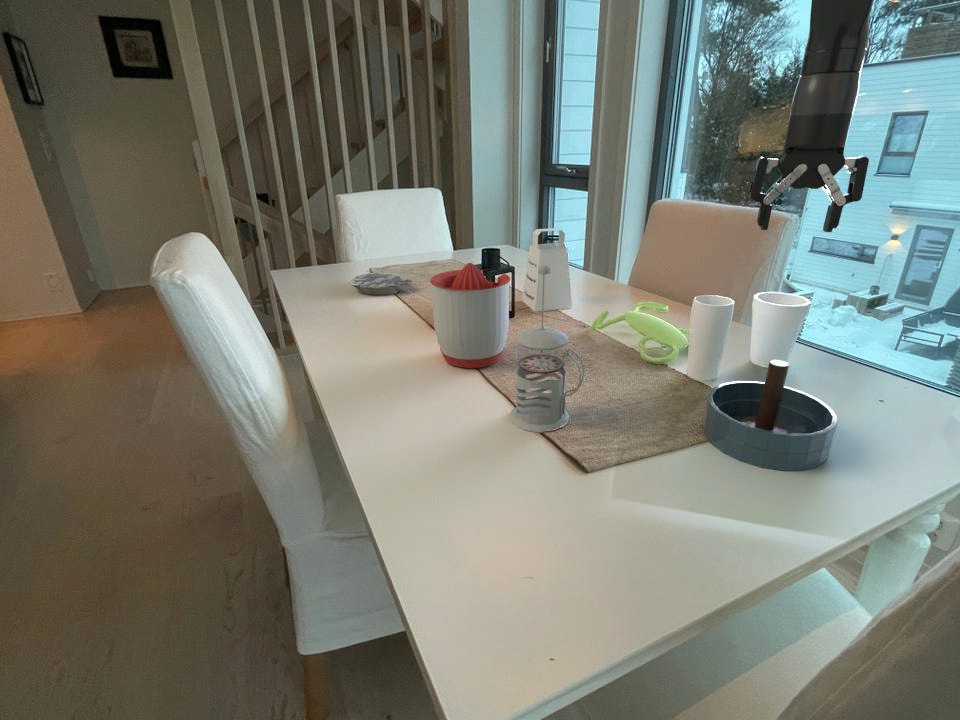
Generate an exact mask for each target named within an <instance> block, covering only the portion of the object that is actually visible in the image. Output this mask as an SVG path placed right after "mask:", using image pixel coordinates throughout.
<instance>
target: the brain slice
mask: <svg viewBox="0 0 960 720" xmlns="http://www.w3.org/2000/svg"><path fill="white" fill-rule="evenodd" d="M412 281H413V280H412V279H409V278H406V277H405V276H404V275H402V274H398V273H386V272H378V271H375V272H369V273H365V274H360V275H357V276H355V277H353V278H352V279H351V280H350V282H349V284H350V286H351V287H353V288H356V290H357V291H359V292H360V293H361V294H365V295H368V296H369V295H370V296H390V295H395V294H398V293H397V292H400V293H403V292H402V291H404V292H405V291H407V290H408V289H409V288H410V287H411V286H412Z"/></svg>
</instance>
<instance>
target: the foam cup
mask: <svg viewBox="0 0 960 720" xmlns="http://www.w3.org/2000/svg"><path fill="white" fill-rule="evenodd" d="M811 305H812V302H811V300H810V299H809V298H807V297H804V296H803V295H797V294H794V293H788V292H781V291H762V292H758V293H756V294H753V299H752V304H751V310H752V314H751V333H750V334H751V335H750V336H751V337H750V352H749V356H750V359H749V361H750V362H751V363H752V364H754V365H756V366H758V367H762V368H765V369H766V368H767V369H768V365H769V361H771V360H781V361H784V362H787V363H789V359H790V357H791V355H792V352H793V349H794V347H795V345H796V342H797V339H798V337H799V335H800V333H801V330H802V327H803V325H804V322H805V320H806V318H807V316H809V312H810V308H811Z"/></svg>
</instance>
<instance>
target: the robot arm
mask: <svg viewBox="0 0 960 720" xmlns="http://www.w3.org/2000/svg"><path fill="white" fill-rule="evenodd" d="M873 3H874V0H811V5H810V15H809V30H808V31H809V32H808V38H807V42H806V45H805V49H804V53H803V58H802V63H801V68H800V73H799V78H798V82H797V85H796V88H795V90H794V95H793V98H792V103H791V104H790V108H789V118H788V123H787V129H786V133H785V138H784V143H783V148H782V152H781V154H780V156H779V157H778V158H767V157H765V156H760V157H758V158H757V159H756V161H755V165H754V171H753V174H752V178H751V182H750V186H749V190H748V195H747V196H748V198H749V199H751V200H752V201H754V202H758V203H759V208H758V213H757V218H756V223H757V226H758V227H759V228H760V229H759V230H761V231H768V229H769V225H770V220H771V214H772V209H773V204H772V203H773V202H774V201H775V200H776V199H777V198H778V197H780V195H782V194H783V193H784V192H785V191H787V189H788V188H791V189H794V190H801V189H806V188H808V189H811V190H819V189H820V188H822V190H823V191H824V192H825V194H826V195H827V197H828V199H829V200H830V202H831V203H830V204H828V206H827V210H826V215H825V218H824V222H823V226H822V231H823V232H824V233H832V232H833V230H834V229H837V228H838V226H839V225H840V220H841V216H842V212H843V208H844V207H845V206H846V205H848V204H851V203H854V202H855V203H857V202H859V201H861V200H862V198H863V194H864V187H865V184H866V183H865V182H866V177H867V173H868V168H869V162H870V158H869V157H867V156H863V155H860V156H859V155H858V156H856V157H847V158H846V157H845V154H844V153H845V149H846V145H847V141H848V136H849V133H850V129H851V123H852V121H853V115H854V112H855V109H856V104H857V99H858V95H859V90H860V79H861V72H862V70H863V69H862V68H863V65H864V61H865V55H866V52H867V50H868V45H869V37H870V23H869V21H870V15H871V12H872V8H873ZM775 167H776V169H777V170H778V172H779V174H780V177H778V178H777V180H776V181H775V182H774V183H773V184H772V185H771V186H770V188H768V190H766V191H765V192H764V193H763V192H762V189H763V185H764V181H765V177H766V174H770V173H771V172H772V170H773V168H775ZM844 167H845V168H846V172H847V173H849V174H850V176H849V179H848V180H849V181H848V184H847V185H848V187H847V190H846V191H847V192H846V193H843V192H842V190H841V187H840V186H839V184H838V182H837V181H836V178H835V176H836V175H837V174H838V173H839V172H840V171H841V170H842V169H843V168H844Z"/></svg>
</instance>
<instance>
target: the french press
mask: <svg viewBox="0 0 960 720" xmlns="http://www.w3.org/2000/svg"><path fill="white" fill-rule="evenodd" d="M537 267H538V266H537ZM550 271H551V270H550V268H549V267H548V266H547V265H541V266H540V267H538V274H543V295H542V311H541V325H540V326H532V327H529V328H527V329H525V330H522V331H521V332H519V333H517V334H516V336H515V337H514V339H515V341H516V343H517V345H518V346H520V347H521V348H524V349H528V350H531V351H540V353H532V354H527V355H524V356H522V357H521V358H519V359H518V362H517V363H518V365H519V366H517V368H516V381H515V382H516V385H515V387H516V392H515V403H516V404H515V407H514V408H513V409H511V411H510V414H509V419H510V422H511V423H512V424H513V425H514V426H516V428H519V429H522V430H525V431H527V432H532V433H539V434H540V433H544V432H543V431H546V430H548V429H549V430H551V429H555V428H558V427H560V426H562V425H563V424H565V423H567V422H568V418H569V417H570V414H569V413H568V411H566V398H567V397H569V396H573V394H575V393H576V392H577V391H578V390H579V388H580V387H581V385H582V384H583V381H584V379H585V377H584V376H585V370H586V369H585V365H584V362H583V360H582V358H581V356H580V355H578V354H577V352H575V351H574V350H573V349H571V348H567V349H566V350H565V352H564V353H562V358H560V357H558V356H557V355H553V354H546V353H543V352H545V351H546V352H547V351H554V350H559V349H561V348H563V347H565V346H567V344H568V341H569V339H570V338H569V337H568V336H567V334H566V333H564V332H563V331H561V330H560V329H557V328H552V327H549V326H545V325H544V311H543V309H544V277H545V274H550ZM569 352H571V353H573V354H574V355H575V356H576V357H577V359H578V360H579V362H580V364H579V363H578V361H577V359H575V358H574V357H573V356H572V355H571V354H570V353H569ZM568 357H569V358H570V359H572V361H573V362H574V363H575V364H576V366H577V369H578V373H579V377H578V383H577V386H576V387H574V388H573V389H569V390H566V380H567V379H566V376H567V371H566V369H565V368H564V366H565V361H566V360H567V359H568ZM580 365H581V368H582V371H581V368H580ZM557 372H558V373H559V374H560V375H561V376H562V377H561V376H560V375H559V374H557ZM535 374H537V375H538V376H533V377H527V376H529V375H535ZM549 377H553V378H555V379H544V378H549ZM543 379H544V380H543ZM539 380H542V381H539ZM530 389H536V390H531V391H527V390H530ZM546 391H551V392H548V393H547V392H546Z"/></svg>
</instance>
